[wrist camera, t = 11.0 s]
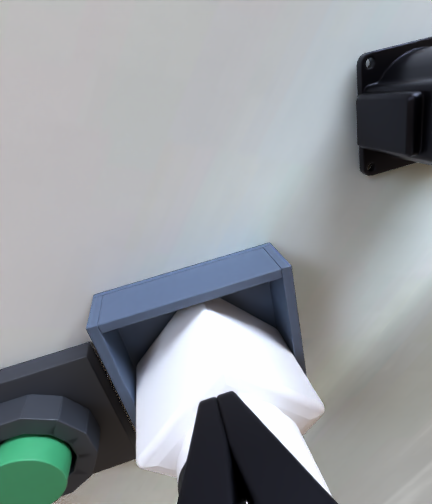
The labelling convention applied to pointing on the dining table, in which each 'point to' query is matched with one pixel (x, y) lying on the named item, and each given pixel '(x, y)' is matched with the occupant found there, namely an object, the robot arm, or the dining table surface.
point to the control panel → (68, 410)
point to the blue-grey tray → (188, 294)
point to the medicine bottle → (219, 384)
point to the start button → (33, 469)
